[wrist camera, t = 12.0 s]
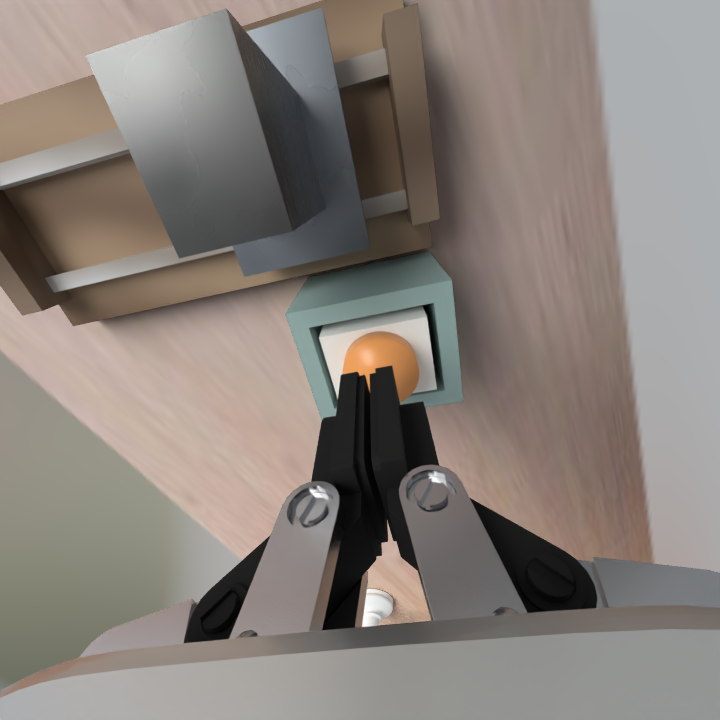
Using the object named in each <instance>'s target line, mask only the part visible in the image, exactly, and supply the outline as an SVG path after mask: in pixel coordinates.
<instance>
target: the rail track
mask: <svg viewBox="0 0 720 720" xmlns="http://www.w3.org/2000/svg"><path fill="white" fill-rule="evenodd" d="M321 7H322V9H323V13H324V16H325V20H326V24H327V29H328V34H329V39H330V44H331V49H332V54H333V59H334V64H335V69H336V74H337V79H338V84H339V89H340V94H341V99H342V104H343V109H344V114H345V119H346V124H347V129H348V135H349V140H350V145H351V150H352V155H353V160H354V165H355V170H356V175H357V180H358V185H359V190H360V195H361V200H362V205H363V210H364V215H365V220H366V225H367V230H368V235H369V240H370V249H367V250H362V251H358V252H354V253H349V254H345V255H340V256H336V257H331V258H327V259H322V260H318V261H314V262H309V263H305V264H300V265H296V266H291V267H287V268H282V269H278V270H274V271H269V272H265V273H260V274H256V275H251V276H247V277H244V275H243V272H242V270H241V267H240V265H239V262H238V259H237V257H236V254H235V252H234V249H233V246H230V247H226V248H221V249H217V250H213V251H209V252H205V253H200V254H196V255H192V256H188V257H184V258H179V257H178V255H177V253H176V251H175V249H174V247H173V244H172V242H171V240H170V238H169V236H168V234H167V231H166V229H165V227H164V225H163V223H162V221H161V218H160V216H159V214H158V212H157V210H156V208H155V205H154V203H153V201H152V199H151V197H150V195H149V192H148V190H147V188H146V186H145V184H144V182H143V179H142V177H141V175H140V173H139V171H138V169H137V166H136V164H135V162H134V160H133V158H132V156H131V154H130V151H129V149H128V147H127V145H126V143H125V141H124V138H123V136H122V134H121V132H120V130H119V128H118V125H117V123H116V121H115V119H114V117H113V115H112V112H111V110H110V108H109V106H108V104H107V102H106V99H105V97H104V95H103V93H102V91H101V89H100V86H99V84H98V82H97V80H96V78H95V76H94V75H91V76H88V77H85V78H82V79H79V80H76V81H73V82H70V83H67V84H64V85H60V86H57V87H54V88H51V89H48V90H45V91H42V92H39V93H36V94H33V95H30V96H27V97H24V98H20V99H17V100H14V101H11V102H8V103H5V104H2V105H0V286H1V287H2V288H3V290H4V291H5V293H6V294H7V295H8V297H9V298H10V299H11V301H12V302H13V303H14V305H15V306H16V308H17V309H18V310H19V312H20V313H21V314H22V315H26V314H30V313H35V312H39V311H43V310H45V309H48V308H50V307H53V306H55V305H58V304H59V306H60V307H61V309H62V310H63V312H64V313H65V315H66V316H67V318H68V319H69V321H70V322H71V324H72V325H73V326H76V325H81V324H85V323H90V322H94V321H99V320H103V319H108V318H112V317H117V316H122V315H126V314H131V313H135V312H140V311H144V310H149V309H153V308H158V307H162V306H167V305H171V304H176V303H180V302H185V301H189V300H194V299H199V298H203V297H208V296H212V295H217V294H221V293H226V292H230V291H235V290H239V289H244V288H248V287H253V286H257V285H262V284H267V283H271V282H276V281H280V280H285V279H289V278H294V277H298V276H303V275H307V274H312V273H316V272H321V271H325V270H330V269H334V268H339V267H344V266H348V265H353V264H357V263H362V262H366V261H371V260H375V259H380V258H384V257H389V256H393V255H398V254H402V253H407V252H412V251H416V250H421V249H425V248H430V247H432V242H431V234H430V225H429V222H430V221H434V220H439V219H440V214H439V204H438V195H437V185H436V175H435V166H434V156H433V146H432V137H431V127H430V117H429V108H428V98H427V88H426V79H425V69H424V59H423V50H422V40H421V30H420V21H419V11H418V3H416V4H413V5H410V6H407V7H404V4H403V0H322V1H319V2H316V3H313V4H310V5H307V6H304V7H301V8H298V9H295V10H291V11H288V12H285V13H282V14H279V15H276V16H273V17H270V18H267V19H264V20H261V21H258V22H255V23H251V24H248V25H245V26H242V28H243V29H244V30H245V31H246V32H247V31H250V30H253V29H256V28H259V27H262V26H266V25H269V24H272V23H275V22H278V21H281V20H284V19H287V18H290V17H294V16H297V15H300V14H303V13H306V12H309V11H312V10H315V9H318V8H321Z"/></svg>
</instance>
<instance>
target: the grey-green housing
mask: <svg viewBox="0 0 720 720" xmlns="http://www.w3.org/2000/svg"><path fill="white" fill-rule="evenodd" d="M420 305H422V306H423V308H424V311H425V313H426V316H427V321H428V328H429V335H430V342H431V350H432V357H433V364H434V372H435V379H436V386H437V389H435V390H429V391H423V392H417V393H412V394H411V395H410V396H409V397H408V398H407V399H406V400H404V401H402V402H401V403H400V405H403V404H409V403H415V402H421V401H423V402H424V406H425V407H431V406H438V405H444V404H450V403H456V402H462V401H463V391H462V380H461V370H460V359H459V349H458V338H457V328H456V317H455V307H454V296H453V286H452V279H451V278H450V277H449V276H448V274H447V273H446V272H445V271H444V269H443V268H442V267H441V266H440V265H439V263H438V262H437V261H436V260H435V258H434V257H433V256H432V255H431V253H430V252H429V251H428V252H423V253H419V254H414V255H410V256H405V257H400V258H396V259H391V260H387V261H382V262H378V263H373V264H369V265H364V266H359V267H355V268H350V269H346V270H341V271H337V272H332V273H327V274H323V275H318V276H314V277H309V278H308V279H307V280H306V282H305V284H304V285H303V287H302V288H301V290H300V292H299V293H298V295H297V296H296V298H295V300H294V301H293V303H292V304H291V306H290V308H289V309H288V311H287V313H286V314H285V315H286V318H287V321H288V323H289V326H290V329H291V332H292V335H293V338H294V341H295V344H296V347H297V350H298V353H299V355H300V358H301V361H302V364H303V367H304V370H305V373H306V376H307V379H308V382H309V384H310V387H311V390H312V393H313V396H314V399H315V402H316V405H317V408H318V411H319V414H320V416H321V419H323V418H325V417H331V416H336V410H337V402H338V398H337V395H336V392H335V388H334V385H333V382H332V379H331V375H330V372H329V369H328V366H327V362H326V359H325V356H324V352H323V349H322V346H321V343H320V339H319V337H320V333H321V330H322V327H323V325H325V324H330V323H335V322H340V321H345V320H350V319H355V318H360V317H365V316H370V315H375V314H380V313H385V312H390V311H395V310H400V309H405V308H410V307H415V306H420Z"/></svg>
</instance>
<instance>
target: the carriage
mask: <svg viewBox="0 0 720 720" xmlns="http://www.w3.org/2000/svg"><path fill="white" fill-rule="evenodd" d="M85 56H86V58H87V60H88V63H89V65H90V67H91V69H92V71H93V73H94V76H95V78H96V80H97V82H98V84H99V86H100V89H101V91H102V93H103V95H104V97H105V99H106V102H107V104H108V106H109V108H110V110H111V112H112V115H113V117H114V119H115V121H116V123H117V125H118V128H119V130H120V132H121V134H122V136H123V138H124V141H125V143H126V145H127V147H128V149H129V151H130V154H131V156H132V158H133V160H134V162H135V164H136V166H137V169H138V171H139V173H140V175H141V177H142V179H143V182H144V184H145V186H146V188H147V190H148V192H149V195H150V197H151V199H152V201H153V203H154V205H155V208H156V210H157V212H158V214H159V216H160V218H161V221H162V223H163V225H164V227H165V229H166V231H167V234H168V236H169V238H170V240H171V242H172V244H173V247H174V249H175V251H176V253H177V255H178V257H179V258H184V257H188V256H192V255H196V254H200V253H205V252H209V251H213V250H217V249H221V248H226V247H230V246H233V249H234V252H235V254H236V257H237V259H238V262H239V265H240V267H241V270H242V272H243V275H244V277H247V276H251V275H256V274H260V273H265V272H269V271H274V270H278V269H282V268H287V267H291V266H296V265H300V264H305V263H309V262H314V261H318V260H322V259H327V258H331V257H336V256H340V255H345V254H349V253H354V252H358V251H362V250H367V249H370V240H369V235H368V230H367V225H366V220H365V215H364V210H363V205H362V200H361V195H360V190H359V185H358V180H357V175H356V170H355V165H354V160H353V155H352V150H351V145H350V140H349V135H348V129H347V124H346V119H345V114H344V109H343V104H342V99H341V94H340V89H339V84H338V79H337V74H336V69H335V64H334V59H333V54H332V49H331V44H330V39H329V34H328V29H327V24H326V20H325V16H324V13H323V9H322V7H321V8H318V9H315V10H312V11H309V12H306V13H303V14H300V15H297V16H294V17H290V18H287V19H284V20H281V21H278V22H275V23H272V24H269V25H266V26H262V27H259V28H256V29H253V30H250V31H247V32H246V31H245V30H244V29H243V28H242V26H241V25H240V24H239V23H238V22H237V21H236V19H235V18H234V17H233V16H232V15H231V13H230V12H229V11H228V10H227V9H223V10H220V11H217V12H214V13H211V14H208V15H205V16H202V17H199V18H196V19H193V20H190V21H187V22H184V23H181V24H178V25H175V26H172V27H169V28H166V29H163V30H160V31H157V32H154V33H151V34H148V35H145V36H142V37H139V38H136V39H133V40H130V41H127V42H124V43H121V44H118V45H115V46H112V47H109V48H106V49H103V50H100V51H97V52H94V53H91V54H88V55H85Z"/></svg>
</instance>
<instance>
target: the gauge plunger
mask: <svg viewBox="0 0 720 720" xmlns="http://www.w3.org/2000/svg"><path fill="white" fill-rule="evenodd" d="M319 339H320V343H321V346H322V349H323V352H324V356H325V359H326V362H327V366H328V369H329V372H330V375H331V379H332V382H333V385H334V388H335V392H336V395H337V398H338V394H339V386H340V377H341V375H342V374H347V373H353V372H358V373H359V376H361V375H365V376H366V380H367V384H368V387H369V391H370V374H372V373H376V372H375V369H376V368H380V367H386V366H391V365H392V367H393V372H394V376H395V381H396V386H397V391H398V396H399V401H400V403H401V402H402V401H404V400H406V399H407V398H408V397H409V396H410V395H411V394H412V393H417V392H423V391H429V390H435V389H437V386H436V379H435V372H434V364H433V357H432V350H431V342H430V335H429V328H428V321H427V316H426V313H425V311H424V308H423V306H422V305H420V306H415V307H410V308H405V309H400V310H395V311H390V312H385V313H380V314H375V315H370V316H365V317H360V318H355V319H350V320H345V321H340V322H335V323H330V324H325V325H323V327H322V330H321V333H320V337H319Z"/></svg>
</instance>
